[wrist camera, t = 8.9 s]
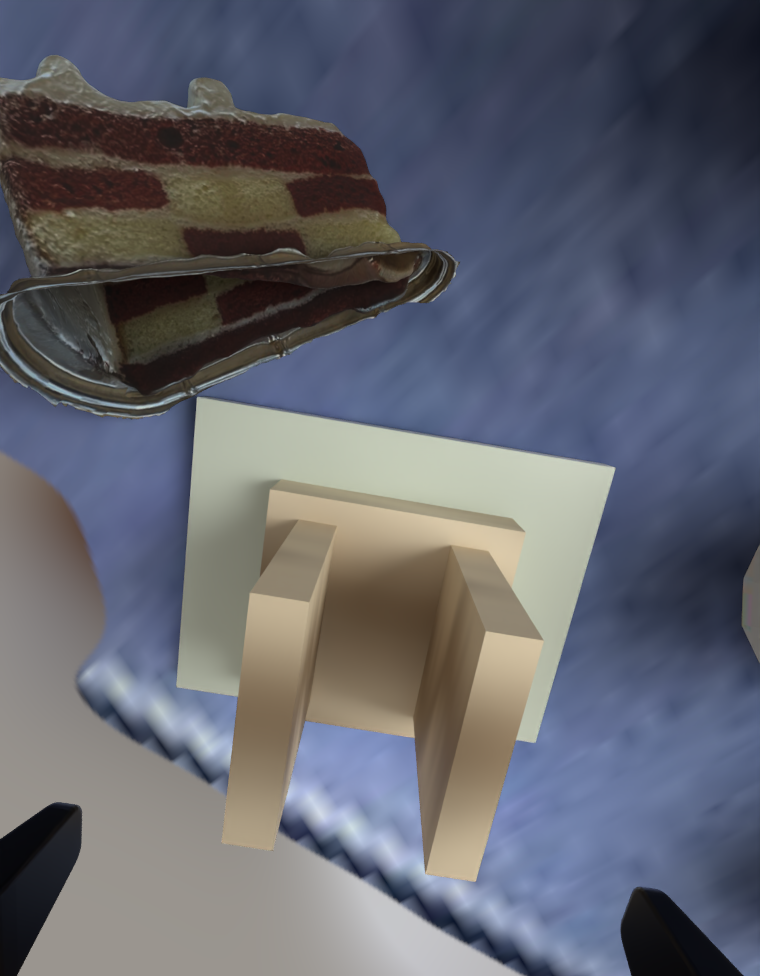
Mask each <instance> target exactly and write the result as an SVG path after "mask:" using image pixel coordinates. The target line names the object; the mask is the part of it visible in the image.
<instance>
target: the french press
mask: <svg viewBox="0 0 760 976" xmlns="http://www.w3.org/2000/svg"><path fill="white" fill-rule="evenodd" d="M742 627H743V629H744V631H745V633H746V636H747V638H748V640H749V642H750V644H751V646H752V648H753V651H754V653H755V655H756V657H757V659H758V661H759V663H760V544H759V547H758V549H757V551H756V553H755V555H754V557H753V559H752V561H751V564H750V566H749V568H748V570H747V572H746V574H745V576H744V578H743V602H742Z"/></svg>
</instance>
